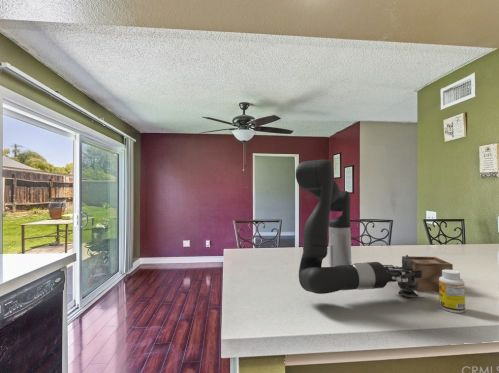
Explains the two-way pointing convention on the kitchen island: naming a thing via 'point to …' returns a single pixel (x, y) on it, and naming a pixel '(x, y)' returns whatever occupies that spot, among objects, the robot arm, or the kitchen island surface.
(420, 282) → the stand
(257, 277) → the kitchen island surface
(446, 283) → the supplement bottle
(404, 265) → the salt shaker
